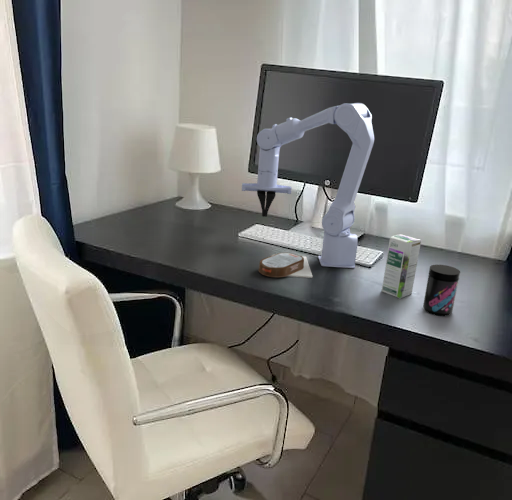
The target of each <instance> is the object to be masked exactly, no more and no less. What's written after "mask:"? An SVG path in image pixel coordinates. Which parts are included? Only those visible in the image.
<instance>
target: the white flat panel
mask: <svg viewBox="0 0 512 500" xmlns="http://www.w3.org/2000/svg"><path fill="white" fill-rule="evenodd" d="M301 256H302V257H303V258H304V268H303V269H302V270H299V271H297V272H295V273H292V274H290V275H288V276H287V277H292V278H307V279H310V278H311V279H312V278H313V273H312V270H311V267H310V265H309V261H308V257H307V256H303V255H301Z"/></svg>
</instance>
